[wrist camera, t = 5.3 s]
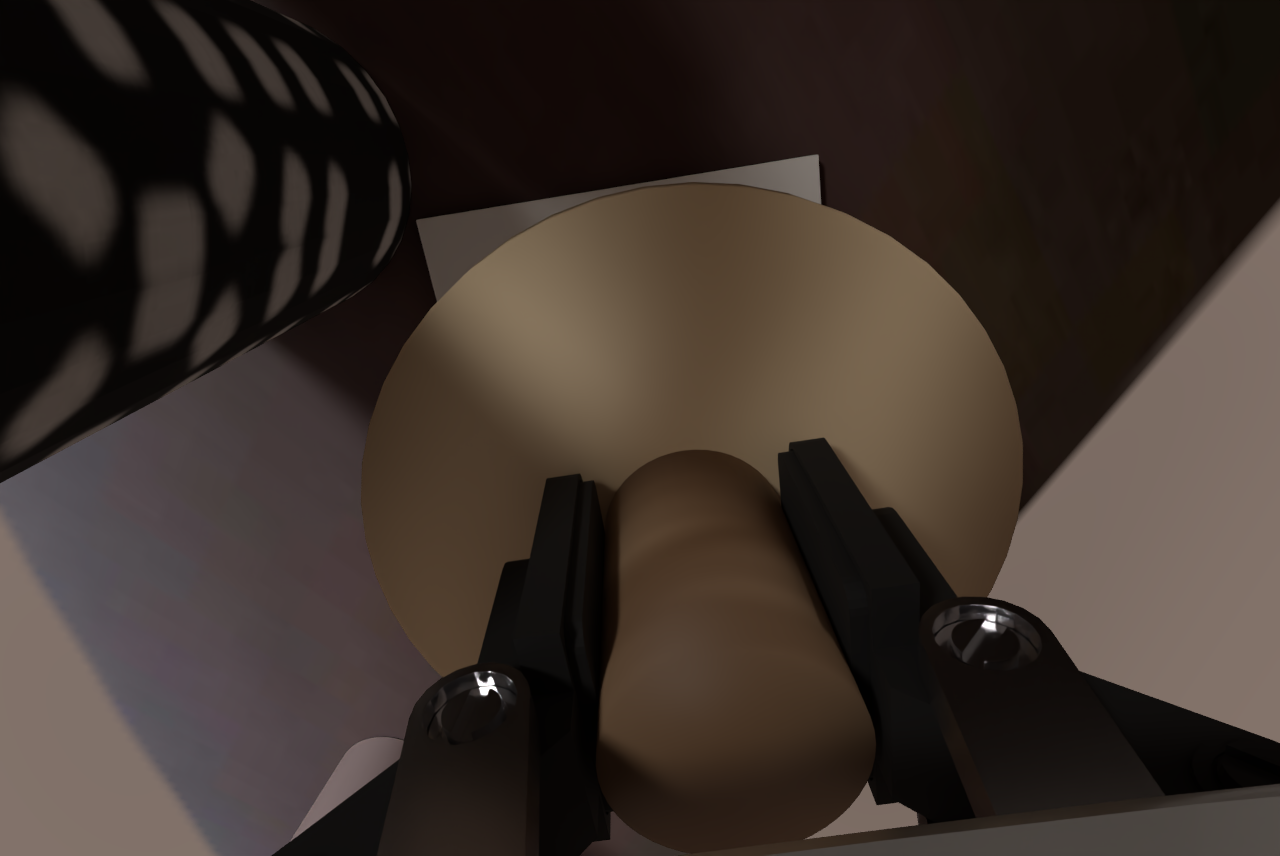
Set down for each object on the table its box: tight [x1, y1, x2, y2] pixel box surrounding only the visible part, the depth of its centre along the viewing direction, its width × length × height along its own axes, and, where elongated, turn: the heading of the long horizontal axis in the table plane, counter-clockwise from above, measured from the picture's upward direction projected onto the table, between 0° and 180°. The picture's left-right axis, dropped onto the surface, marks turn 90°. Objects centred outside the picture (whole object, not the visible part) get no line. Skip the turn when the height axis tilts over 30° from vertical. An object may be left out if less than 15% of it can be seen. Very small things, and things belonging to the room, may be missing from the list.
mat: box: [416, 155, 821, 302], centre depth 23 cm, size 12×12×1 cm
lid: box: [361, 182, 1023, 854], centre depth 10 cm, size 11×11×6 cm
